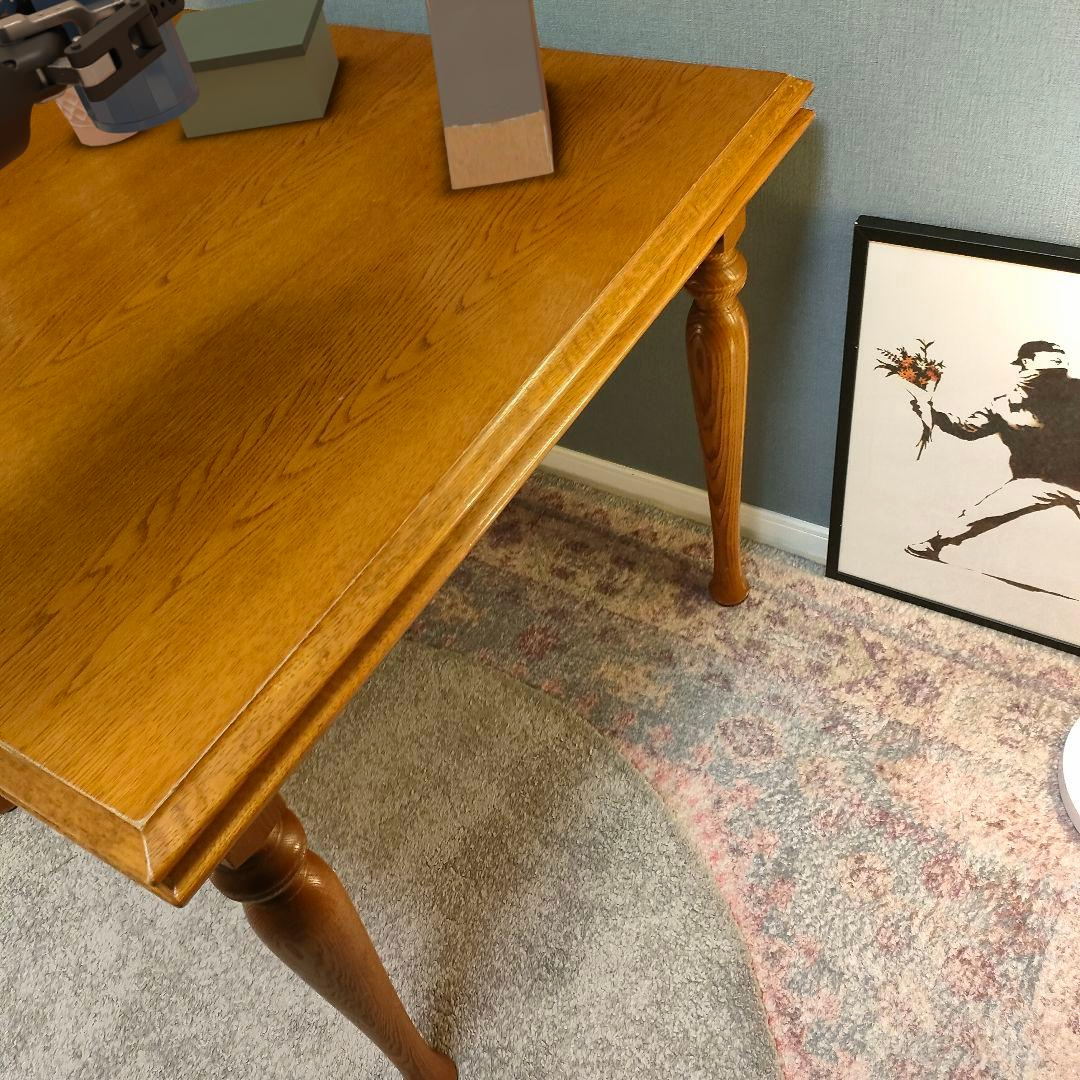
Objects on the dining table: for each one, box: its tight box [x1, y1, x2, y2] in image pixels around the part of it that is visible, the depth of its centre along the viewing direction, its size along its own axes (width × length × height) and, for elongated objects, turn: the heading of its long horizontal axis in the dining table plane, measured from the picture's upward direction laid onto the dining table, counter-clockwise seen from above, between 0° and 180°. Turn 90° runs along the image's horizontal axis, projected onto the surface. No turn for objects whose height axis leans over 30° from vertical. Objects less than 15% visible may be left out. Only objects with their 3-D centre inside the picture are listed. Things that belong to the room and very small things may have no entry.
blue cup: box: [31, 0, 200, 133], centre depth 57 cm, size 7×7×8 cm
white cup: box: [54, 86, 138, 147], centre depth 92 cm, size 8×8×10 cm
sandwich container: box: [424, 0, 555, 190], centre depth 78 cm, size 9×15×15 cm, turn 3°
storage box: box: [174, 0, 340, 139], centre depth 93 cm, size 14×12×7 cm
